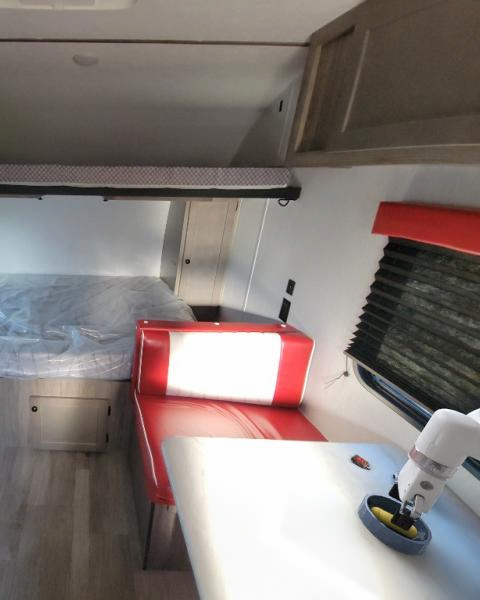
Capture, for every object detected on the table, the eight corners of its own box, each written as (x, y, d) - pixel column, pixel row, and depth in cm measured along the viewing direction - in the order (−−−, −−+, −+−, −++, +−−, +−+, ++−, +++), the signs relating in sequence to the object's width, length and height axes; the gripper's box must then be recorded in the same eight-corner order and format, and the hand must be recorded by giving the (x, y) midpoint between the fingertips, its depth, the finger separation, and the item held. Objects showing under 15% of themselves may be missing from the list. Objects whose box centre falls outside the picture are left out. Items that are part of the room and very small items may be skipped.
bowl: (420, 526, 85) (428, 515, 83) (427, 567, 75) (436, 556, 74) (358, 494, 92) (364, 484, 90) (357, 528, 82) (364, 517, 81)
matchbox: (350, 461, 103) (350, 459, 103) (353, 453, 107) (353, 451, 106) (368, 471, 100) (369, 470, 100) (371, 462, 104) (372, 461, 103)
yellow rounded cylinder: (413, 534, 82) (419, 526, 81) (415, 543, 80) (421, 535, 79) (368, 510, 87) (372, 502, 86) (368, 518, 85) (373, 510, 84)
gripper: (464, 496, 67) (422, 550, 73) (448, 448, 80) (413, 498, 86) (414, 473, 71) (379, 526, 77) (407, 431, 84) (376, 480, 90)
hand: (397, 511), depth 82 cm, fingers open, 9 cm apart
